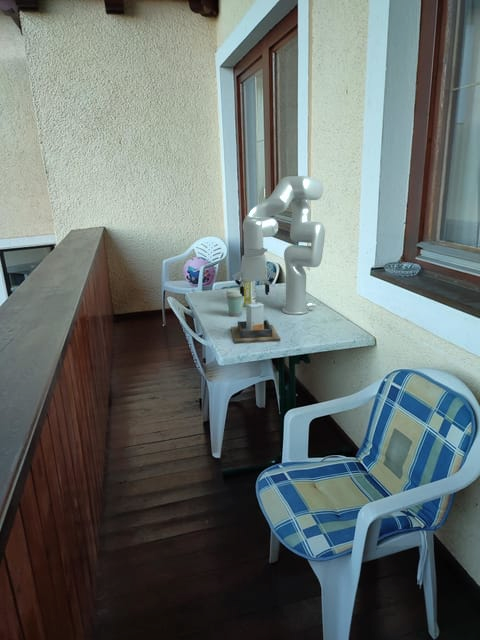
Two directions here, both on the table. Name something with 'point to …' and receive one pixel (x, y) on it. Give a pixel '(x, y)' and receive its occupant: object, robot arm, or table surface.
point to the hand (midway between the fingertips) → (254, 294)
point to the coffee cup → (235, 302)
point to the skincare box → (255, 316)
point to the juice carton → (249, 292)
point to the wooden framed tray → (254, 333)
